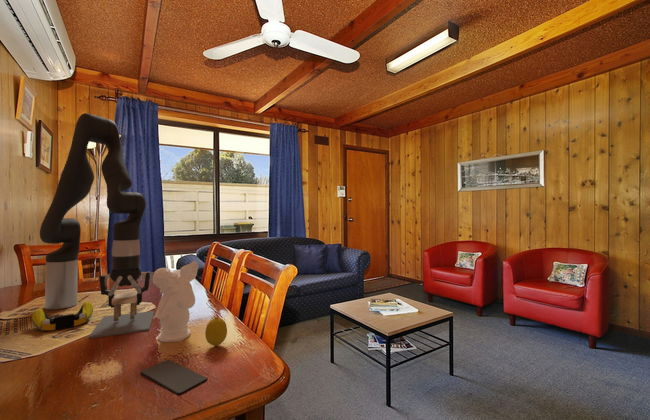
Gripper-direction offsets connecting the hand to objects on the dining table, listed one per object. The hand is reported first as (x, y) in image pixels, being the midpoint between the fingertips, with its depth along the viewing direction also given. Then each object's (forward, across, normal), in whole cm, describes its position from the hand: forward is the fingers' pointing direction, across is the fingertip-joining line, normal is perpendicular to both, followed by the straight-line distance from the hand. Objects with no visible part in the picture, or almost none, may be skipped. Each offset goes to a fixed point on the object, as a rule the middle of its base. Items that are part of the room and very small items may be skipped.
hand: (125, 305), depth 98 cm
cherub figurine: (+6, -15, +15) cm, 22 cm away
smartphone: (+7, -15, +41) cm, 44 cm away
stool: (+4, 0, 0) cm, 4 cm away
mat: (+6, 0, 0) cm, 6 cm away
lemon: (+6, -25, +29) cm, 39 cm away
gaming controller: (+6, +18, -7) cm, 20 cm away
